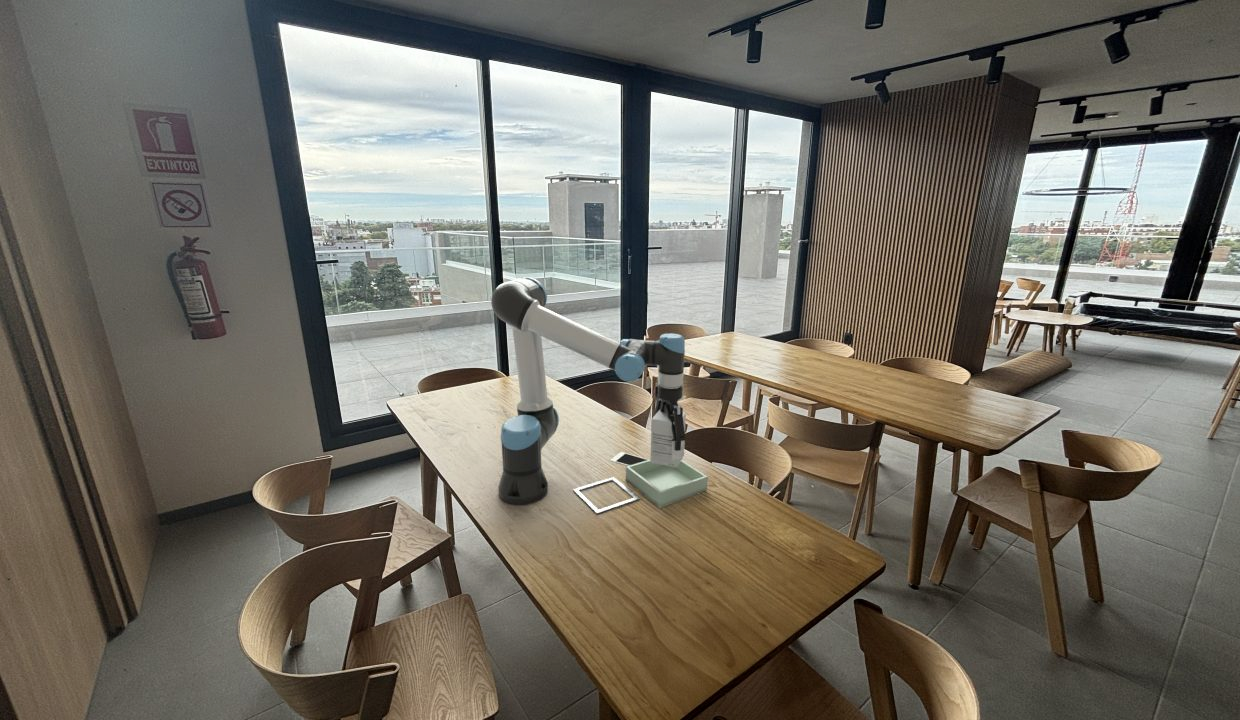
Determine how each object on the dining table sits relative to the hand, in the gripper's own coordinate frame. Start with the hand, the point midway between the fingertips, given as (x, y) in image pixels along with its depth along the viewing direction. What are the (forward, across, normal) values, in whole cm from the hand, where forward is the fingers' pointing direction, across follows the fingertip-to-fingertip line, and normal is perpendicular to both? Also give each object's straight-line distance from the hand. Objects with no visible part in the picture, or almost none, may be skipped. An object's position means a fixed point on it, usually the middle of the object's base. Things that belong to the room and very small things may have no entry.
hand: (667, 449), depth 155 cm
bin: (+13, 0, 0) cm, 13 cm away
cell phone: (+13, +18, +4) cm, 23 cm away
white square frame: (+13, 0, +20) cm, 24 cm away
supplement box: (+4, 0, 0) cm, 4 cm away
